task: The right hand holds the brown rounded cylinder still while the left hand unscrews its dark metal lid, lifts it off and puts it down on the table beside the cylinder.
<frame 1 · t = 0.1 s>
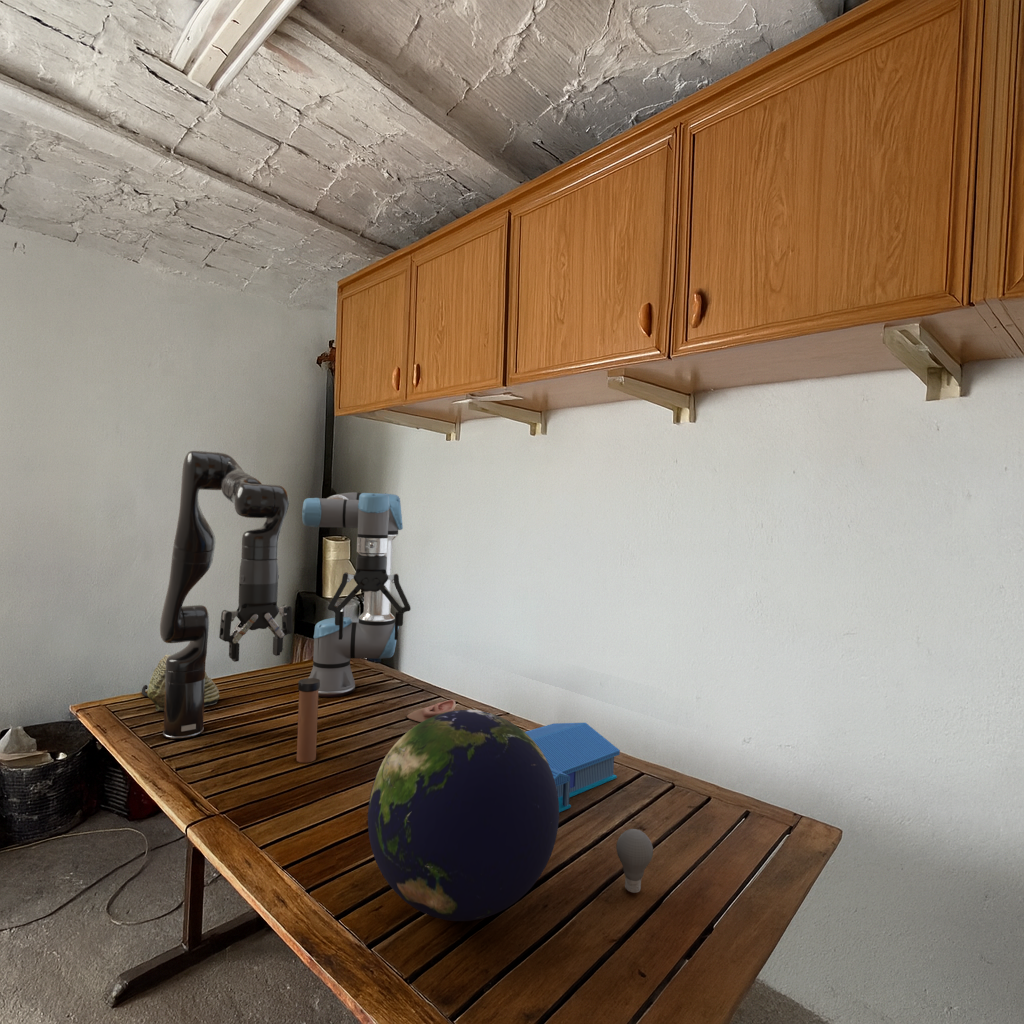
left hand: (256, 657, 132), 29 cm above the table, tool pointing down, fingers open, 8 cm apart
right hand: (368, 638, 159), 28 cm above the table, tool pointing down, fingers open, 13 cm apart
lid: (309, 682, 152), point 19 cm above the table, screwed on, not yet turned
brown rounded cylinder: (306, 758, 152), on the table
globe: (460, 903, 101), on the table
model building: (530, 787, 143), on the table
fossil: (183, 706, 185), on the table
anatomical model: (431, 717, 185), on the table
light bulb: (632, 891, 106), on the table
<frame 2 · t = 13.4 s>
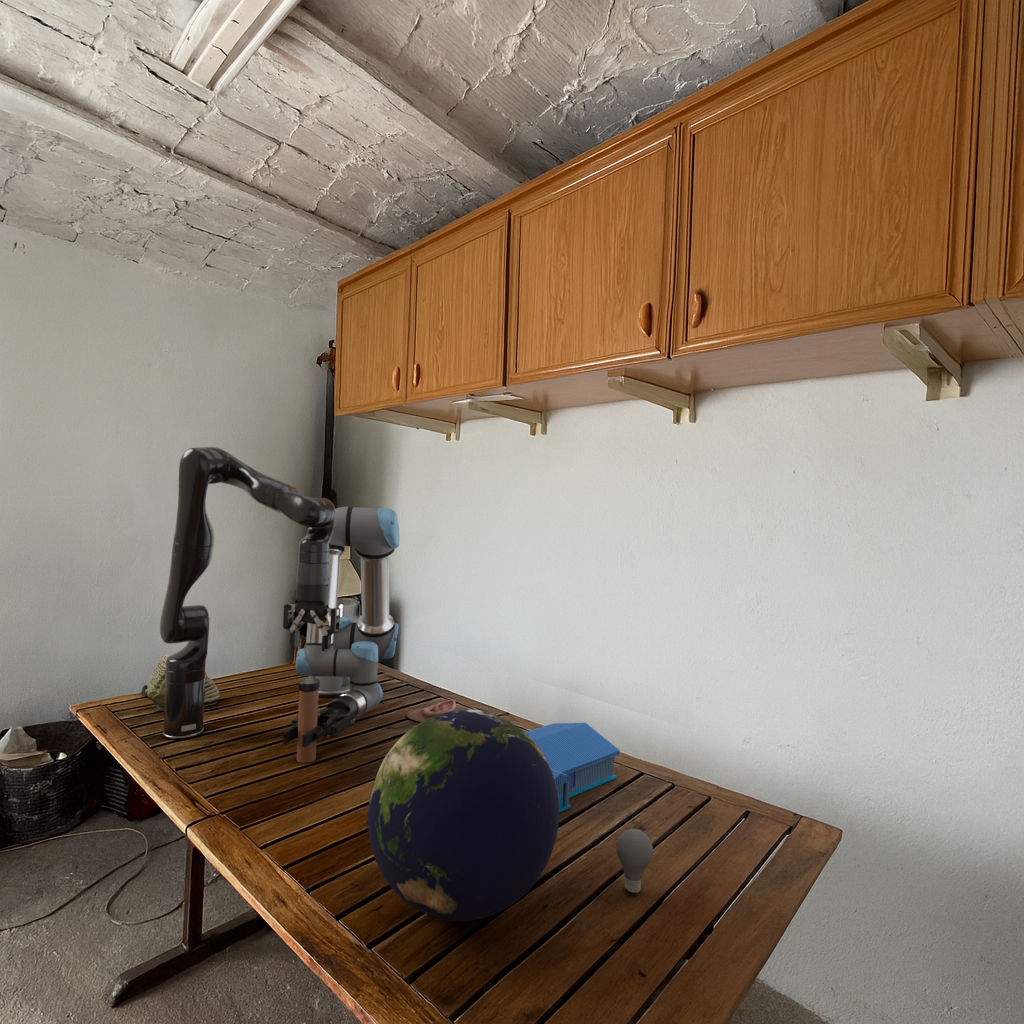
left hand: (310, 648, 152), 27 cm above the table, tool pointing down, fingers open, 7 cm apart
right hand: (294, 739, 147), 7 cm above the table, tool horizontal, fingers closed on brown rounded cylinder, 4 cm apart
brown rounded cylinder: (306, 758, 152), on the table, touching right hand
everything else where it was.
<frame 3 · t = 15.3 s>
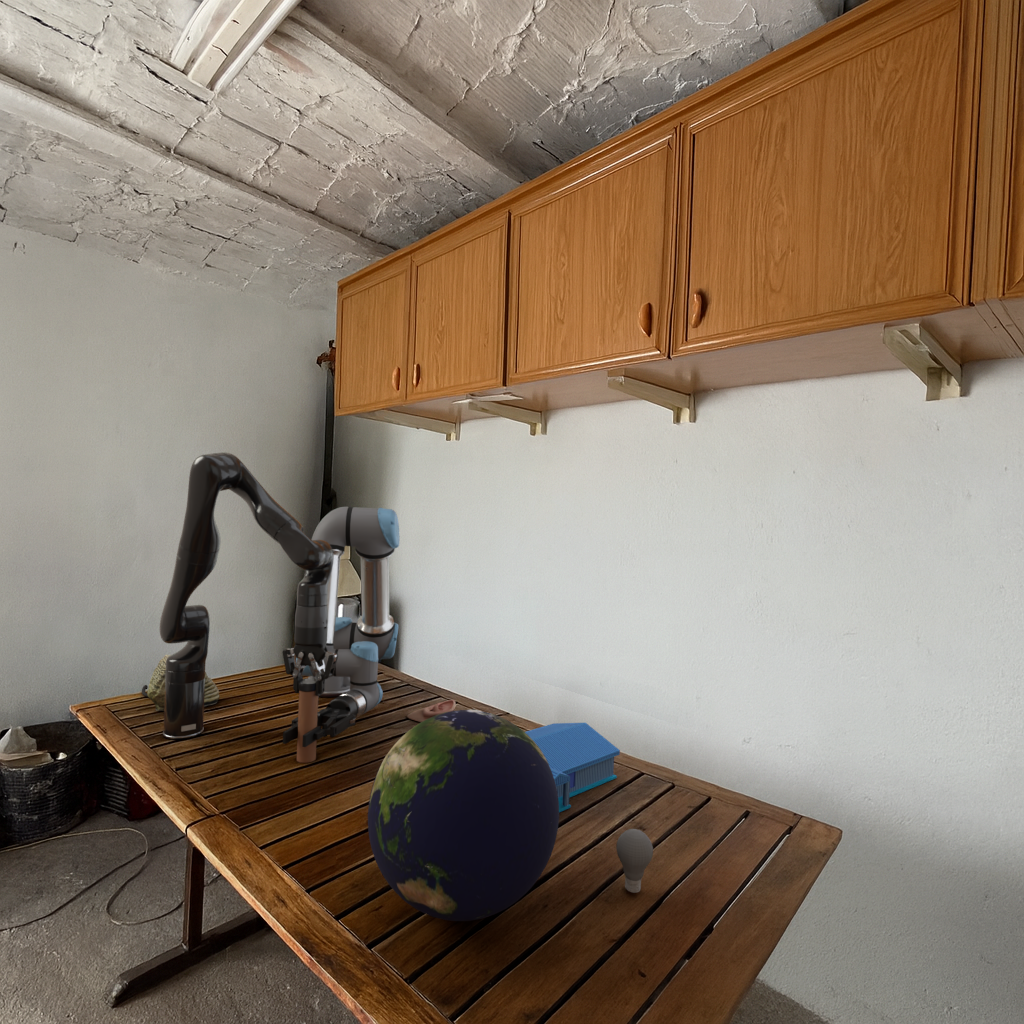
left hand: (308, 693, 152), 16 cm above the table, tool pointing down, fingers closed on lid, 5 cm apart
right hand: (294, 739, 147), 7 cm above the table, tool horizontal, fingers closed on brown rounded cylinder, 4 cm apart
lid: (309, 682, 152), point 19 cm above the table, screwed on, not yet turned, touching left hand
brown rounded cylinder: (306, 758, 152), on the table, touching right hand
everything else where it was.
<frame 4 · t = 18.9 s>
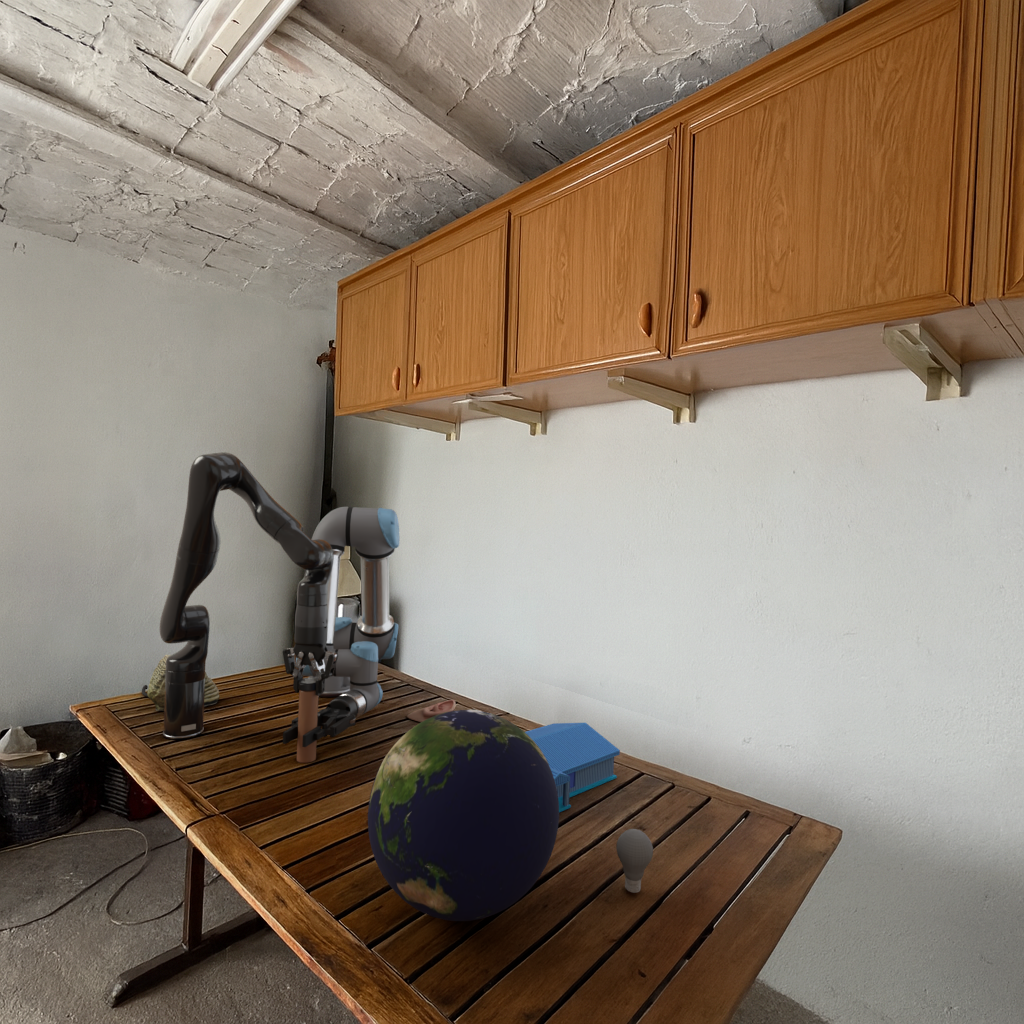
left hand: (308, 693, 152), 16 cm above the table, tool pointing down, fingers closed on lid, 5 cm apart
right hand: (294, 739, 147), 7 cm above the table, tool horizontal, fingers closed on brown rounded cylinder, 4 cm apart
lid: (309, 681, 152), point 19 cm above the table, turned 80° so far, risen 0.1 cm, still on its thread, touching left hand
brown rounded cylinder: (306, 758, 152), on the table, touching right hand
everything else where it was.
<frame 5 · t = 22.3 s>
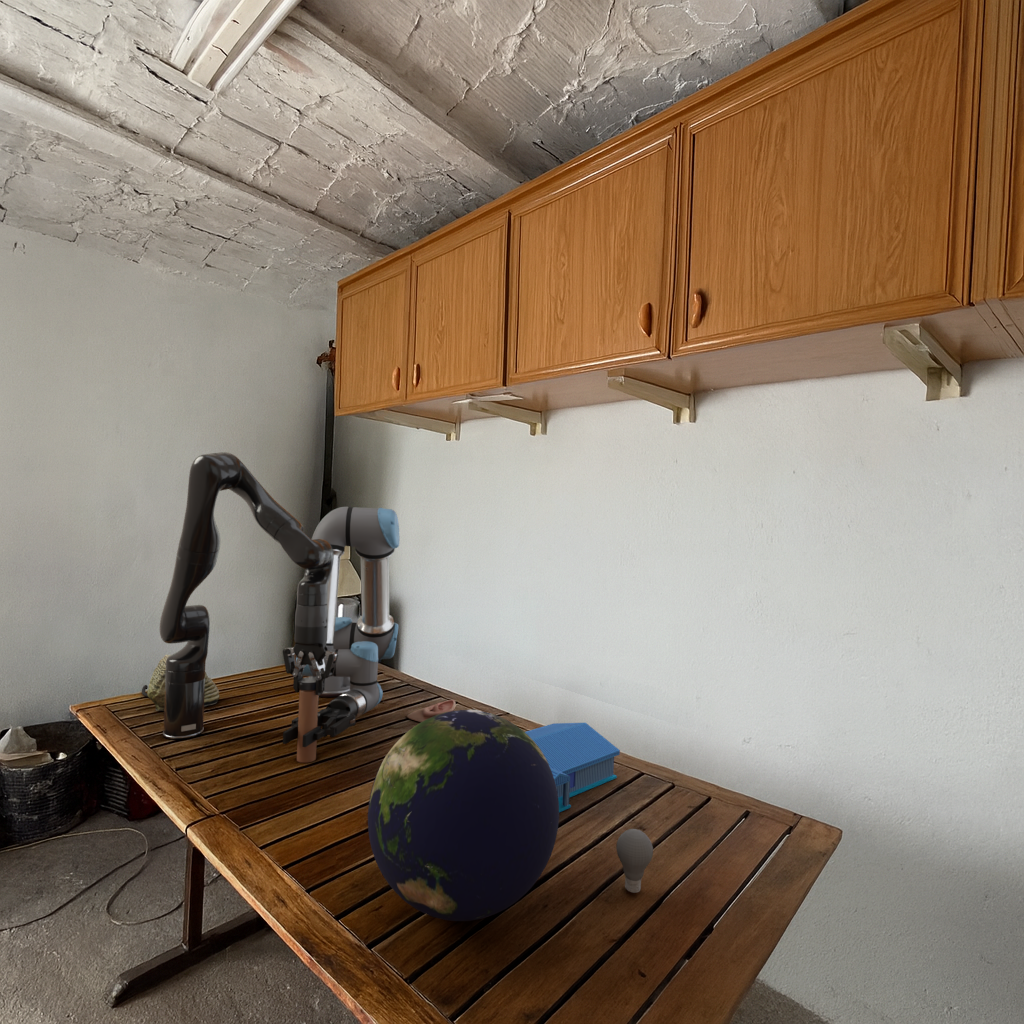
left hand: (308, 692, 152), 16 cm above the table, tool pointing down, fingers closed on lid, 5 cm apart
right hand: (294, 739, 147), 7 cm above the table, tool horizontal, fingers closed on brown rounded cylinder, 4 cm apart
lid: (309, 681, 152), point 19 cm above the table, turned 160° so far, risen 0.2 cm, still on its thread, touching left hand
brown rounded cylinder: (306, 758, 152), on the table, touching right hand
everything else where it was.
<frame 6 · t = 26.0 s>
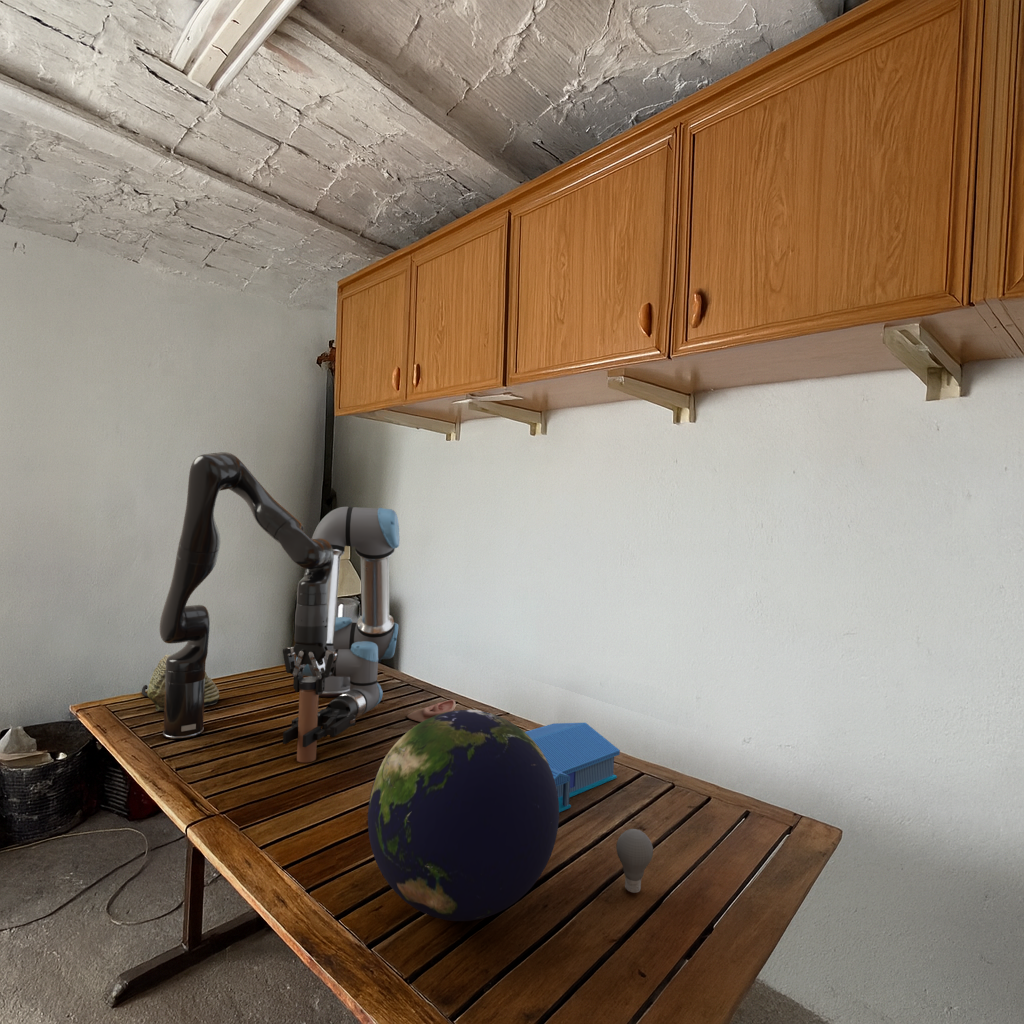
left hand: (309, 692, 152), 16 cm above the table, tool pointing down, fingers closed on lid, 5 cm apart
right hand: (294, 739, 147), 7 cm above the table, tool horizontal, fingers closed on brown rounded cylinder, 4 cm apart
lid: (309, 681, 152), point 19 cm above the table, turned 239° so far, risen 0.3 cm, still on its thread, touching left hand
brown rounded cylinder: (306, 758, 152), on the table, touching right hand
everything else where it was.
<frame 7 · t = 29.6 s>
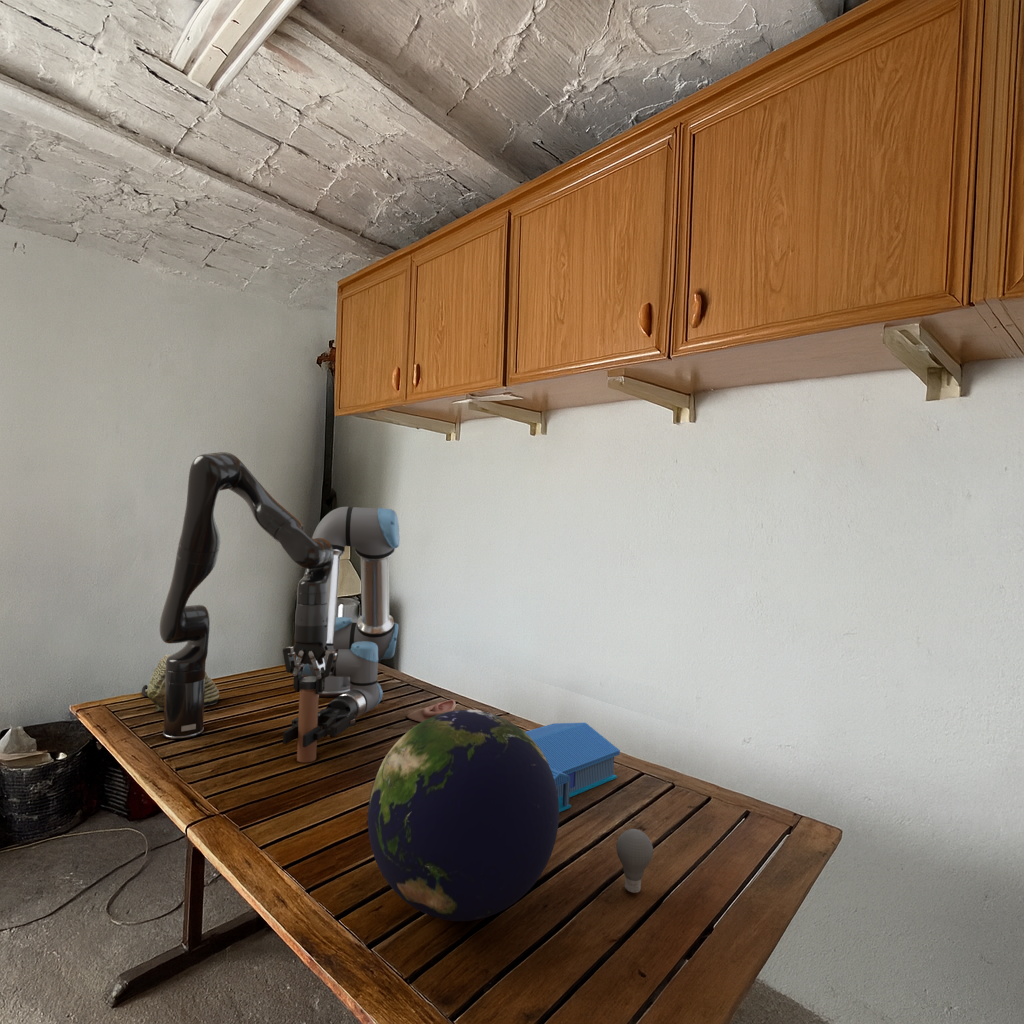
left hand: (309, 691, 152), 16 cm above the table, tool pointing down, fingers closed on lid, 5 cm apart
right hand: (294, 739, 147), 7 cm above the table, tool horizontal, fingers closed on brown rounded cylinder, 4 cm apart
lid: (309, 680, 152), point 19 cm above the table, turned 319° so far, risen 0.4 cm, still on its thread, touching left hand
brown rounded cylinder: (306, 758, 152), on the table, touching right hand
everything else where it was.
when the left hand's fingers open (0 cm above the table, at t = 39.9 s): lid drops 2 cm, point 1 cm above the table.
when the right hand's fingers open (7 cm above the table, at t = 40.8 s): brown rounded cylinder stays where it is, on the table.
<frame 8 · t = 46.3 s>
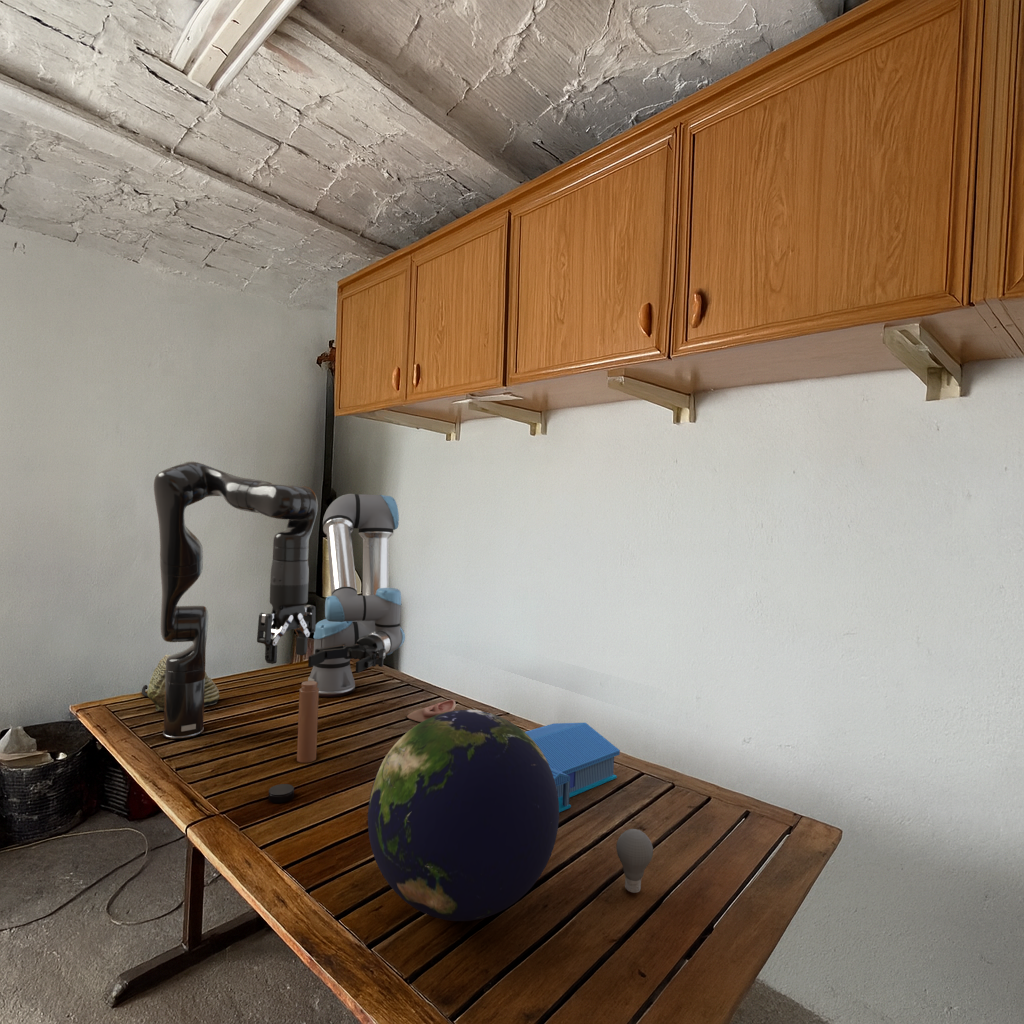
left hand: (286, 658, 132), 29 cm above the table, tool pointing down, fingers open, 8 cm apart
right hand: (332, 664, 162), 20 cm above the table, tool horizontal, fingers open, 13 cm apart
lid: (281, 790, 133), point 1 cm above the table, off its thread
brown rounded cylinder: (306, 758, 152), on the table
everything else where it was.
at the end: lid came off its thread; lid point 1.4 cm above the table; the left hand is holding nothing; the right hand is holding nothing; brown rounded cylinder tilted 0°; brown rounded cylinder moved 0.1 cm from its start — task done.
